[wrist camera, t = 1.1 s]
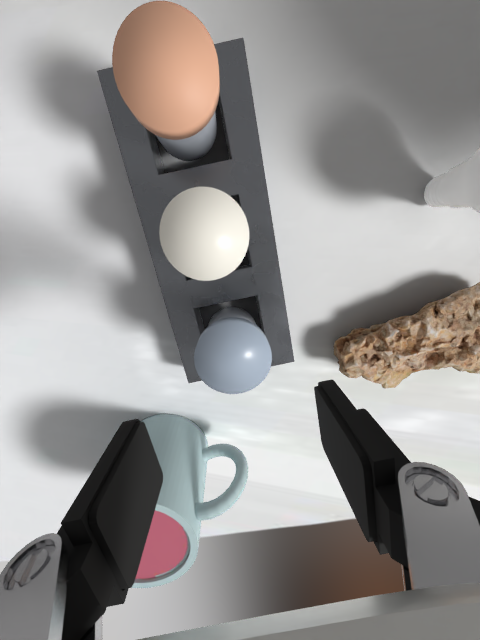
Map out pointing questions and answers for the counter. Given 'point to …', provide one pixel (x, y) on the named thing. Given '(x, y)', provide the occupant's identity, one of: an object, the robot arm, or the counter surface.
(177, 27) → the terracotta key
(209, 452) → the mug
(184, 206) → the cream key
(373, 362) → the rock
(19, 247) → the counter surface
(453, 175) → the lightbulb
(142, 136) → the key panel
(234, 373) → the light blue cylinder
